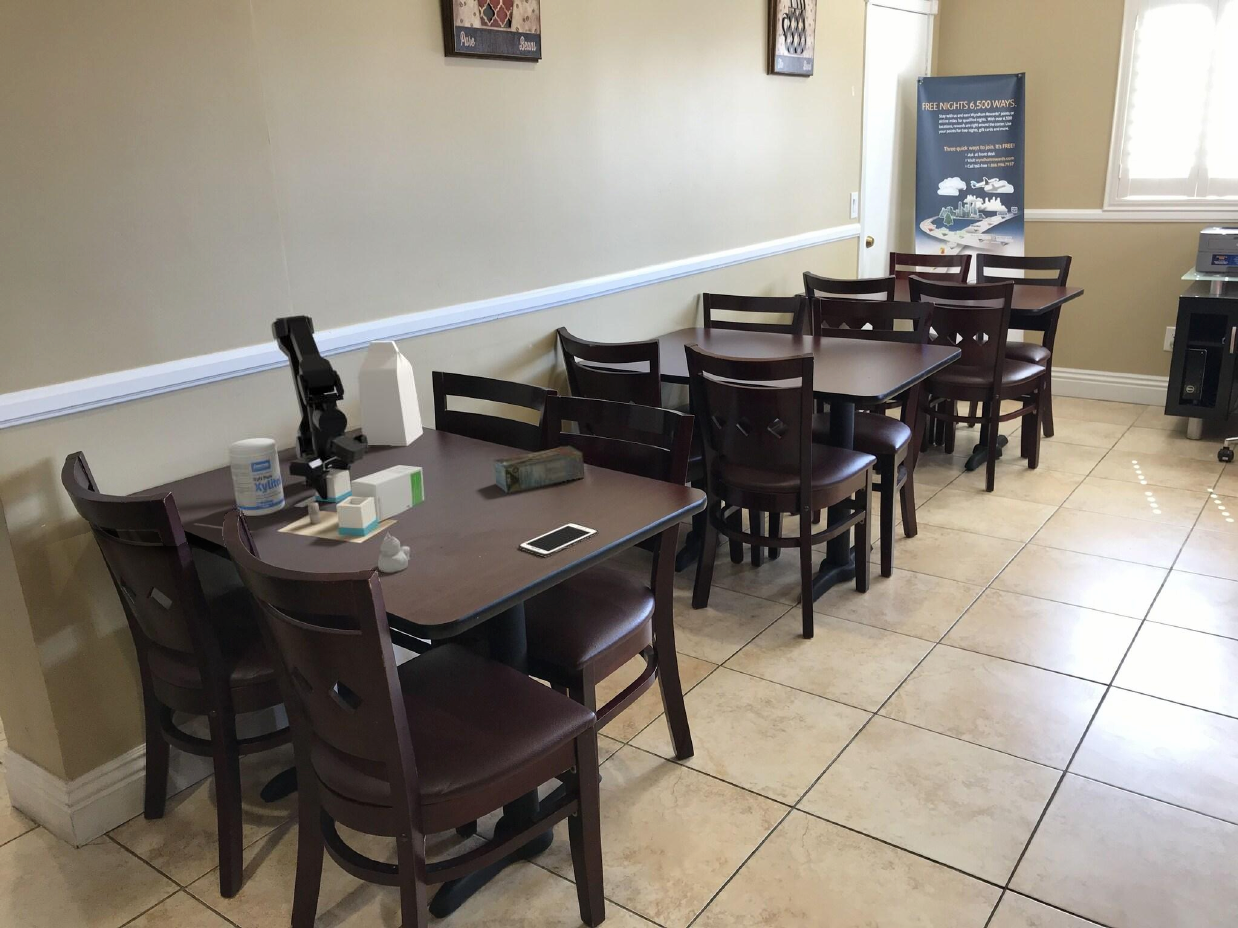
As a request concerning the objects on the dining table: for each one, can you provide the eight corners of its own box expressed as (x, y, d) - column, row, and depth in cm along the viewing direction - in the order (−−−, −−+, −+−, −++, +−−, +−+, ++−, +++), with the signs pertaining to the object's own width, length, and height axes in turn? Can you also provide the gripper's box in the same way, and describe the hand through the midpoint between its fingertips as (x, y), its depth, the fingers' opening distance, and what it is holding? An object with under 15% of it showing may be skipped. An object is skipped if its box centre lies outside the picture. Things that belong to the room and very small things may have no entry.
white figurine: (371, 574, 169) (366, 532, 167) (400, 561, 174) (395, 520, 171) (391, 581, 166) (386, 538, 163) (420, 568, 171) (415, 526, 168)
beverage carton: (494, 484, 214) (491, 456, 212) (572, 469, 222) (571, 442, 220) (506, 494, 207) (503, 465, 205) (586, 479, 215) (585, 451, 213)
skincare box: (425, 503, 203) (379, 525, 189) (399, 500, 205) (352, 521, 192) (422, 465, 201) (375, 484, 187) (396, 462, 203) (348, 481, 190)
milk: (363, 445, 247) (350, 346, 239) (380, 433, 258) (369, 337, 249) (407, 446, 245) (395, 345, 237) (423, 433, 256) (412, 337, 247)
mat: (294, 507, 204) (293, 505, 204) (330, 489, 214) (330, 487, 214) (339, 513, 199) (339, 511, 199) (374, 494, 210) (374, 492, 210)
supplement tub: (266, 519, 198) (255, 451, 193) (228, 516, 200) (216, 449, 196) (294, 503, 206) (284, 438, 202) (258, 500, 209) (247, 436, 205)
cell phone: (600, 535, 183) (600, 530, 183) (545, 559, 173) (545, 554, 173) (571, 526, 188) (571, 521, 188) (516, 549, 178) (516, 545, 178)
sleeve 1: (315, 502, 205) (311, 475, 203) (332, 493, 210) (329, 467, 208) (336, 504, 203) (333, 478, 201) (353, 496, 208) (349, 470, 206)
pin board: (277, 535, 188) (274, 512, 187) (318, 514, 199) (314, 492, 197) (360, 547, 181) (357, 523, 179) (398, 525, 191) (395, 501, 190)
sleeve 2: (338, 534, 185) (334, 505, 183) (353, 523, 190) (349, 495, 188) (364, 536, 184) (361, 507, 182) (378, 525, 189) (375, 497, 187)
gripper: (326, 440, 190) (336, 513, 195) (382, 416, 206) (390, 484, 211) (282, 436, 194) (293, 508, 199) (340, 413, 211) (349, 479, 216)
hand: (334, 494), depth 206 cm, fingers open, 6 cm apart
